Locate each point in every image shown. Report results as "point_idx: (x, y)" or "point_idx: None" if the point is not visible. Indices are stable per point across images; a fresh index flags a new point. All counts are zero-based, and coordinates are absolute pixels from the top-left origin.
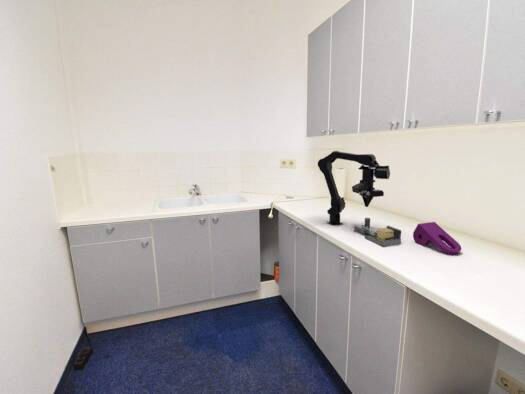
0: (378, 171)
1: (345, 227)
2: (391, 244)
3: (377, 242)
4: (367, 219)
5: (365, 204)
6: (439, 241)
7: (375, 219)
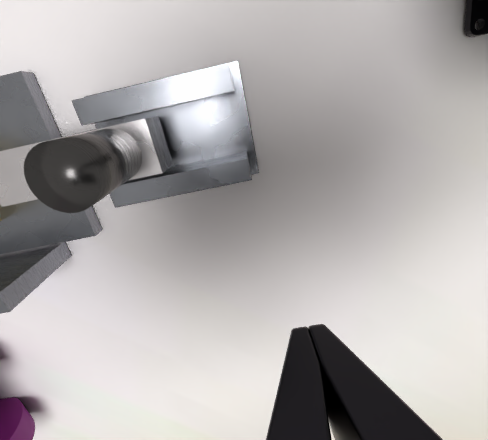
0: None
1: (354, 26)
2: None
3: None
4: (28, 159)
5: (315, 360)
6: None
7: (450, 354)
